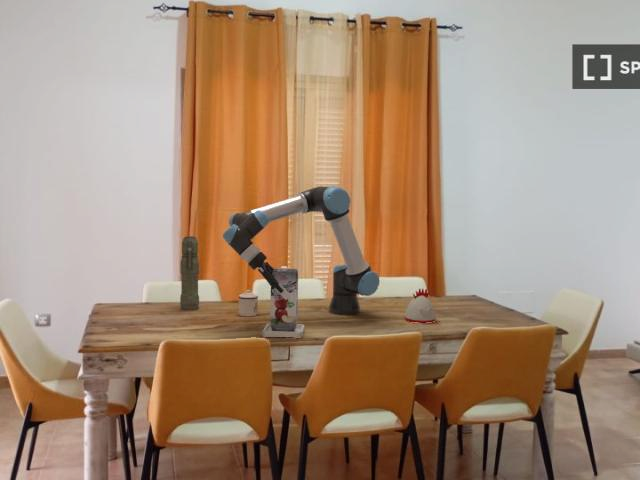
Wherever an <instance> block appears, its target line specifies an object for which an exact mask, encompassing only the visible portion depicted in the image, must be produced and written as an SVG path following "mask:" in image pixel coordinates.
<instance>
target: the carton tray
mask: <svg viewBox="0 0 640 480" xmlns="http://www.w3.org/2000/svg"><path fill="white" fill-rule="evenodd" d="M303 332H305V324H302V323H297V325H296V328H295V330H294V332H286V331H272V329H271V323H270V322H268V323H266V325H265V326H264V328H263V330H262V338H267V337H302V338H303V335H304V333H303Z"/></svg>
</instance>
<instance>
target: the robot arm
mask: <svg viewBox="0 0 640 480" xmlns="http://www.w3.org/2000/svg"><path fill="white" fill-rule="evenodd" d="M350 204H351V197H350V194H349V193H348V192H347V190H346V189H344V188H343V187H341V186H340V187H339V186H336V185H335V186H334V185H333V186H316V187H313V188H310V189H307V190H305V191H302V192H298V193H297V194H295V196H293V197H290V198H287V199H283V200H280V201H277V202H273V203H270V204H267V205H264V206H261V207H258V208H254V209H251V210H247V211H244V212H236V213H233V214H232V215H230V217H229V219H228V224H229V227H228V228H227V229H226V230H225V231H224V233H223V234H222V238H223V240H225V242H226V243H227V245H229V246H230V247H231V248H232V249H233V250H234V251H235V252H236V253H237V255H239V256H240V257H241V258H240V259H241V260H243V261H244V262H245V263H247V264H248V266H249V267H250V268H251V269H252V270H253V271H255V270H256V269H257V268H258V269H257V272H259V273H260V274H261V276H263V278H264V279H265V281H266V282H267V284H269V286H270V288H271V287H272V289H274V288H275V289H276V290H277V292H278V293H279V294H280V295H281V296H282V297H283V298H284V299H285V300H287V299H288V298H289V297H290V296H291V295H290V294H289V293H288V292H287V291H286V290H285V289H284V288H283V286H282V285H281V284H279V283H278V282H277V281H276V279H275V278H274V276H273V275H272V271H273V270H274V269H275V268H274V267H273V266H271V264H270V263H269V262H268V261H266V260H267V258H268V257H267V256H266V255H265V253H263V251H260V250H261V249H260V248H259V247H258V246H257V245H256V244H255V243H254V242H253V241H252V240H253V239H254V238H255V237H256V236H257V235H259V233H261V232H262V231H263V230H264V229H265V228H266V227H267V226H268V225H269V224H270V223H272V222H274V221H278V220H281V219H285V218H288V217H291V216H294V215H296V214H300V213H301V214H307V213H312V212H313V213H314V212H315V213H316V212H317V213H322V215H323V217H324V220H325V221H326V222H329V224H330V226H331V230H332V232H333V234H334V237H335V239H336V241H337V244H338V247H339V249H340V253H341V254H342V258H343V260H344V262H345V264H338V265H337V264H336V265H335V266H334V267H333V271H332V274H333V276H332V277H333V279H332V280H333V281H332V286H333V287H332V297H331V300H330V303H329V306H328V311H329V313H331V314H334V315H335V314H336V315H356V314H360V313H361V305H360V302H359V299H358V295H360V296H366V297H368V296H371V295H374V294H375V293H376V292H377V290H378V288H379V286H380V277H379V274H378V273H377V272H376V271H373V270H372V268H371V266H370V265H371V264H370V263H369V262H367V261H366V260H365V259H364V256H363V253H362V250H361V248H360V245H359V241H358V240H357V237H356V234H355V232H354V229H353V226H352V223H351V221H350V218H349V214H350V212H351V211H350Z"/></svg>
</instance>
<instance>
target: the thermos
mask: <svg viewBox="0 0 640 480" xmlns="http://www.w3.org/2000/svg"><path fill="white" fill-rule="evenodd" d="M198 253H199V242H198V239H197V237H195V236H184V237H182V241H181V259H180V268H179V269H180V271H179V272H180V274H181V284H180V285H181V292H180V293H181V294H180V300H179V304H180V310H181V311H187V310H190V311H197V310H199V308H200V306H199V304H200V296H199V274H200V261H199V256H198Z"/></svg>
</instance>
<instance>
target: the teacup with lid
mask: <svg viewBox="0 0 640 480" xmlns="http://www.w3.org/2000/svg"><path fill="white" fill-rule="evenodd" d="M238 298H239V299H238V316H241V317H246V318H247V317H256V316H257V315H258V309H259V308H258V307H259V306H258V305H259V303H258V301H259V300H258V299H259V296H258V294H255V293H254V292H252V291H251V290H250V289H246V291H245V292H243V293H242V294H241V293H240V294H239V295H238Z"/></svg>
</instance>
